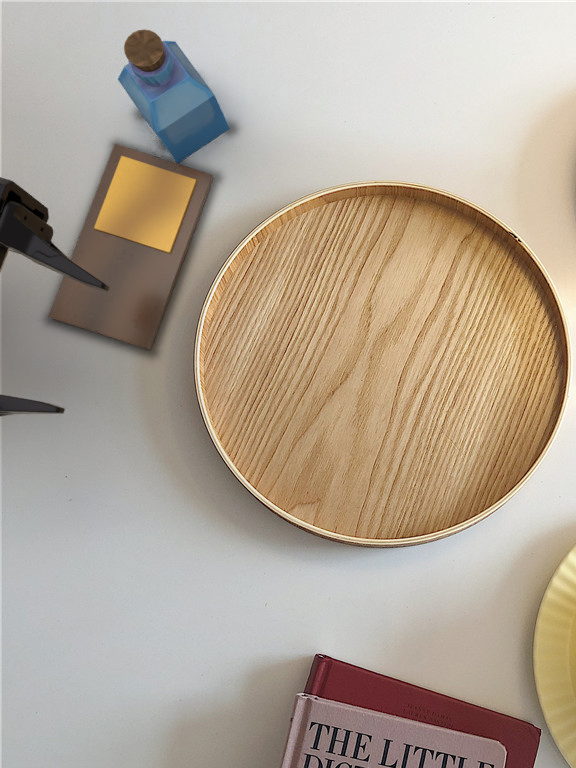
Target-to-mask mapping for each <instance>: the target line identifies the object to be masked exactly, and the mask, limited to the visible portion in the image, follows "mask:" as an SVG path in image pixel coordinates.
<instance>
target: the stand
mask: <svg viewBox="0 0 576 768" xmlns="http://www.w3.org/2000/svg"><path fill="white" fill-rule="evenodd" d="M214 179H215V178H214V175H213V174H211V173H208V172H205V171H201V170H199V169H195V168H192V167H189V166H187V165H183V164H180V163H178V164H177V162H173V161H170V160H168V159H165V158H161V157H158V156H155V155H152V154H149V153H145V152H143V151H141V150H140V151H139V150H137V149H133V148H131V147H128V146H124V145H121V144H118V143H114V144H113V147H112V149H111V152H110V155H109V158H108V160H107V163H106V166H105V168H104V171H103V173H102V176H101V178H100V181H99V184H98V185H97V186H98V187H97V189H96V191H95V195H94V197H93V200H92V203H91V204H90V206H89V210H88V213H87V215H86V217H85V220H84V222H83V226H82V228H81V231H80V233H79V236H78V239H77V241H76V244H75V247H74V249H73V251H72V255H71V257H70V258H69V259H70V260H71V261H72V262H74V263H75V264H77V265H78V266H79V267H81V268H82V269H84V270H85V271H87V272H88V273H90V274H91V275H93V276H94V277H96V278H97V279H99V280H100V281H102V282H103V283H105V284H106V285H108V286H109V290H108V292H106V291H102V290H98V289H94V288H91V287H89V286H86V285H84V284H82V283H80V282H77V281H75V280H73V279H71V278H68V277H66V276H64V275H63V278H62V281H61V283H60V285H59V288H58V291H57V294H56V297H55V299H54V301H53V305H52V306H51V309H50V312H49V315H48V318H50V319H52V320H56V321H58V322H62V323H65V324H68V325H70V326H71V325H72V326H75V327H78V328H81V329H84V330H87V331H90V332H93V333H96V334H99V335H102V336H105V337H108V338H110V339H111V338H112V339H115V340H118V341H121V342H124V343H127V344H130V345H134V346H136V347H140V348H142V349H146V350H147V351H148V350H149V351H151V350H152V348H153V345H154V343H155V340H156V338H157V335H158V331H159V330H160V329H159V328H160V326H161V324H162V321H163V318H164V315H165V312H166V309H167V307H168V304H169V301H170V298H171V296H172V293H173V290H174V287H175V285H176V282H177V279H178V276H179V274H180V271H181V270H182V269H181V268H182V265H183V263H184V260H185V257H186V254H187V252H188V248H189V247H190V243H191V241H192V239H193V235H194V232H195V230H196V227H197V225H198V221H199V219H200V216H201V213H202V211H203V208H204V205H205V202H206V200H207V197H208V194H209V191H210V189H211V186H212V184H213V180H214Z"/></svg>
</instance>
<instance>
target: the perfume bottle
mask: <svg viewBox="0 0 576 768" xmlns="http://www.w3.org/2000/svg"><path fill="white" fill-rule="evenodd" d="M123 51H124V55H125V57H126V59H127V62H128V63H127V64H125V65H124V66H123V68H122V69H121V72H120V74H119V76H118V78H117V81H118V82H119V83H120V85H121V86H122V88H123V89H124V90H125V93H126V94H127V95H128V97H129V99H131V101H132V102H133V104H134V105H135V107H136V108H137V110H138V111H139V112H140V114H141V115H142V117H143V118H144V119H145V121H146V123H147V124H148V125H149V127H150V128H151V130H153V132H154V133H155V135H156V136H157V138H158V139H159V140H160V142H161V143H162V144H163V146H164V148H165V149H166V150H167V152H168V153H169V154H170V155H171V157H172V158H173V160H174V161H175V163H177V164H180V163H181V162H183V161H184V160H185V159H188V157H190V156H191V155H193V154H195V153H196V152H197V151H199V150H201V149H202V148H203V147H205V146H206V145H207V144H209V143H211V142H212V141H214V140H215V139H217V138H218V137H220V136H221V135H223V134H224V133H226V132H227V131H229V130H230V128H231V127H230V125H229V123H228V121H227V119H226V117H225V114H224V112H223V110H222V108H221V106H220V104H219V101H218V99H217V97H216V95H215V93H214V92H213V91H212V89H211V88H210V86H209V85H208V83H206V81H205V79H204V78H203V77H202V76H201V74H200V73H199V72H198V70H197V69H196V68H195V66H194V65H193V64H192V62H191V61H190V59H189V58H188V57H187V55H186V54H185V52H184V51H183V50H182V48H181V47H180V45H178V43H177V42H176V41H175V40H162V38H161V37H160V36H159V35H158V34H157V33H156V32H155V31H153V30H151V29H145V28H144V29H138V30H136V31H133V32H132V33H130V34H129V36H127V38H126V40H125V42H124V45H123Z"/></svg>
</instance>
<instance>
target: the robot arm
mask: <svg viewBox="0 0 576 768" xmlns="http://www.w3.org/2000/svg"><path fill="white" fill-rule="evenodd" d="M49 219H50V215H49V208H48V207H47V206H46V205H44V203H42V202H40V201H39V200H38V199H36V197H34V196H32V195H31V194H30V193H29V192H28V191H26V190H25V189H24V188H22V187H21V186H20V185H18V184H17V183H16V182H15V181H13V180H11V179H7V178H5V177H2V176H0V273H1V272H2V269H3V267H4V264H5V261H6V259H7V256H8V254H9V252H12V253H15V254H18V255H21V256H23V257H25V258H27V259H28V260H30V261H32V262H33V263H34V264H36V265H39V266H41V267H43V268H46V269H49V270H50V271H53V272H55V273H57V274H59V275H61V276H63V277H64V276H66V277H68V278H71V279H73V280H75V281H77V282H80V283H82V284H84V285H86V286H89V287H91V288H94V289H98V290H102V291H106V292H108V290H109V286H108V285H106V284H105V283H103V282H102V281H100V280H99V279H97V278H96V277H94V276H93V275H91V274H90V273H88V272H87V271H85V270H84V269H82V268H81V267H79V266H78V265H77V264H75V263H74V262H72V261H71V260H70V259H71V258H69V257H68V256H67V255H66V254H65V253H64V252H63V251H62V250H61V249H60V248H59V247H57V245H56V244H54V243H53V240H52V239H53V237H54V229H53V227H52V225H50V224H48V222H49ZM65 411H66V408H64V407H62V406H60V405H56V404H53V403H50V402H46V401H40V400H35V399H29V398H23V397H18V396H11V395H6V394H0V418H1V417H7V416H13V415H63V414H64V413H65Z"/></svg>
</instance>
